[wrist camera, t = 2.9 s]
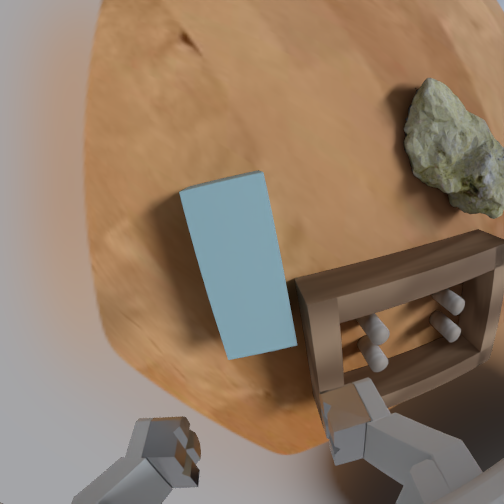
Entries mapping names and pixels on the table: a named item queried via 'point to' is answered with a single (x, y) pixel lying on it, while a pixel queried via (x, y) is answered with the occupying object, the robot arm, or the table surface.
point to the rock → (454, 151)
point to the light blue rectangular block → (240, 263)
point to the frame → (399, 292)
